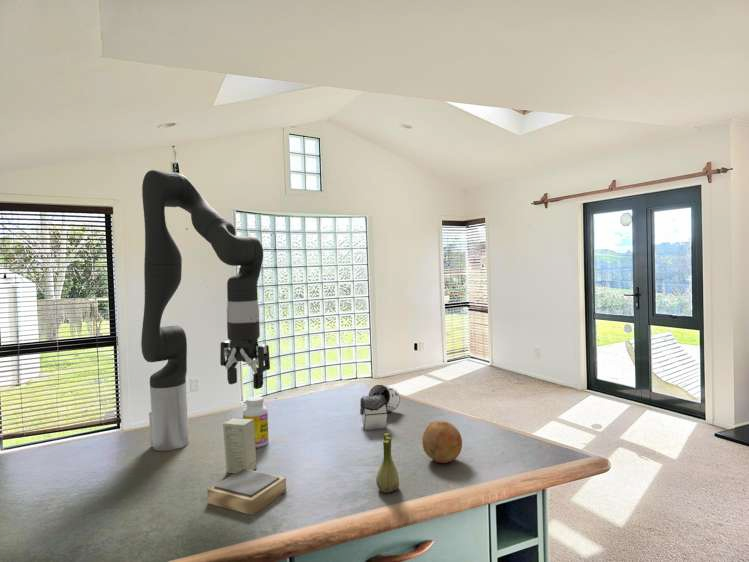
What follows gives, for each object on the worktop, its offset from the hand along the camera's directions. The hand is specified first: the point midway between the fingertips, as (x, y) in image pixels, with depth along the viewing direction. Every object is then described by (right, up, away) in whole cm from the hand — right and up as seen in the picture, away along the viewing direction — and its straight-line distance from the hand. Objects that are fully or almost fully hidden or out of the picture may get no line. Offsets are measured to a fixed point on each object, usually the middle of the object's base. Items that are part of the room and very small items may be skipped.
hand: (245, 385), depth 119 cm
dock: (+4, -21, -14) cm, 25 cm away
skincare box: (-1, -21, 0) cm, 21 cm away
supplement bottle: (-1, -20, +17) cm, 26 cm away
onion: (+48, -19, +2) cm, 52 cm away
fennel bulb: (+34, -20, -12) cm, 41 cm away
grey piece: (+34, -18, +35) cm, 52 cm away
